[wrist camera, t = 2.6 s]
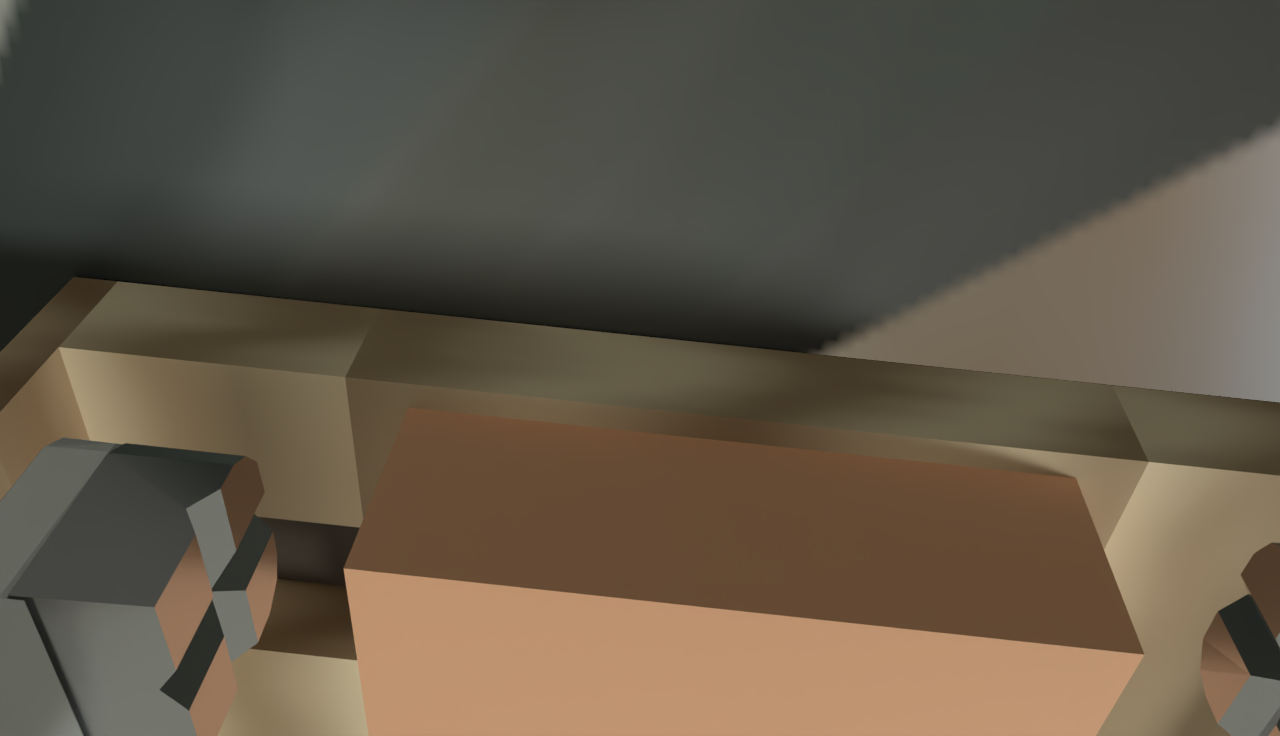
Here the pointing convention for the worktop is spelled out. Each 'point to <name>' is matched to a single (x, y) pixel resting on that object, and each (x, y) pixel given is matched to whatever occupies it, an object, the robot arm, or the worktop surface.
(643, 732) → the block
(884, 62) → the worktop surface
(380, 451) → the trap board
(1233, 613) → the robot arm
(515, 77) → the worktop surface
